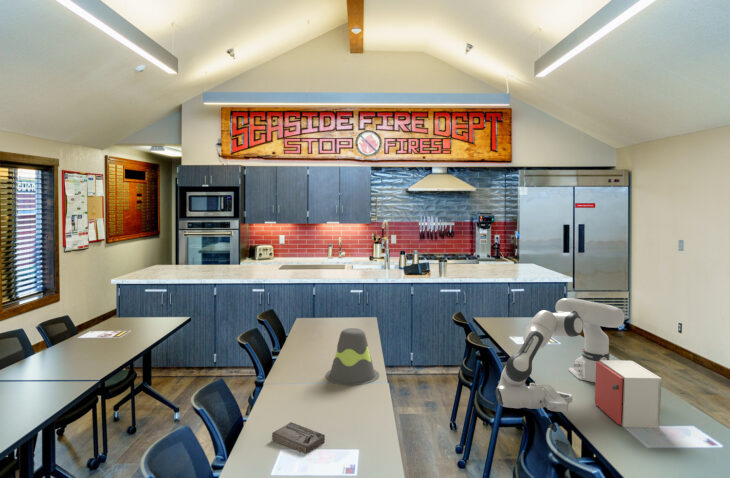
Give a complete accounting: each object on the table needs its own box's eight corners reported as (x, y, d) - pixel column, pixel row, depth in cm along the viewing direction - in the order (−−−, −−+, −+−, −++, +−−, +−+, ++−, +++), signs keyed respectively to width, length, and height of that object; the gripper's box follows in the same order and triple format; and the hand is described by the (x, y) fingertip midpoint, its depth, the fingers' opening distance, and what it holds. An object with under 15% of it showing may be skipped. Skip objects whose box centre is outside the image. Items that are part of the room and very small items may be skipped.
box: (290, 429, 183) (290, 421, 183) (325, 442, 174) (325, 434, 174) (271, 440, 175) (270, 432, 174) (306, 455, 165) (306, 447, 165)
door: (591, 403, 209) (592, 361, 208) (596, 403, 209) (598, 361, 208) (614, 424, 188) (616, 377, 187) (621, 424, 188) (622, 378, 187)
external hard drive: (547, 402, 212) (553, 393, 222) (566, 407, 207) (572, 397, 217) (547, 399, 212) (553, 390, 222) (566, 403, 207) (572, 394, 217)
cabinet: (598, 404, 209) (599, 360, 208) (630, 404, 208) (631, 360, 207) (623, 427, 187) (625, 377, 186) (659, 427, 186) (661, 378, 185)
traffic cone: (390, 378, 241) (390, 331, 239) (343, 389, 225) (343, 340, 223) (360, 363, 263) (360, 321, 262) (315, 373, 248) (315, 328, 246)
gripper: (545, 399, 184) (581, 400, 184) (529, 381, 204) (561, 382, 204) (545, 415, 184) (580, 416, 184) (528, 395, 205) (560, 396, 204)
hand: (570, 398), depth 194 cm, fingers closed
